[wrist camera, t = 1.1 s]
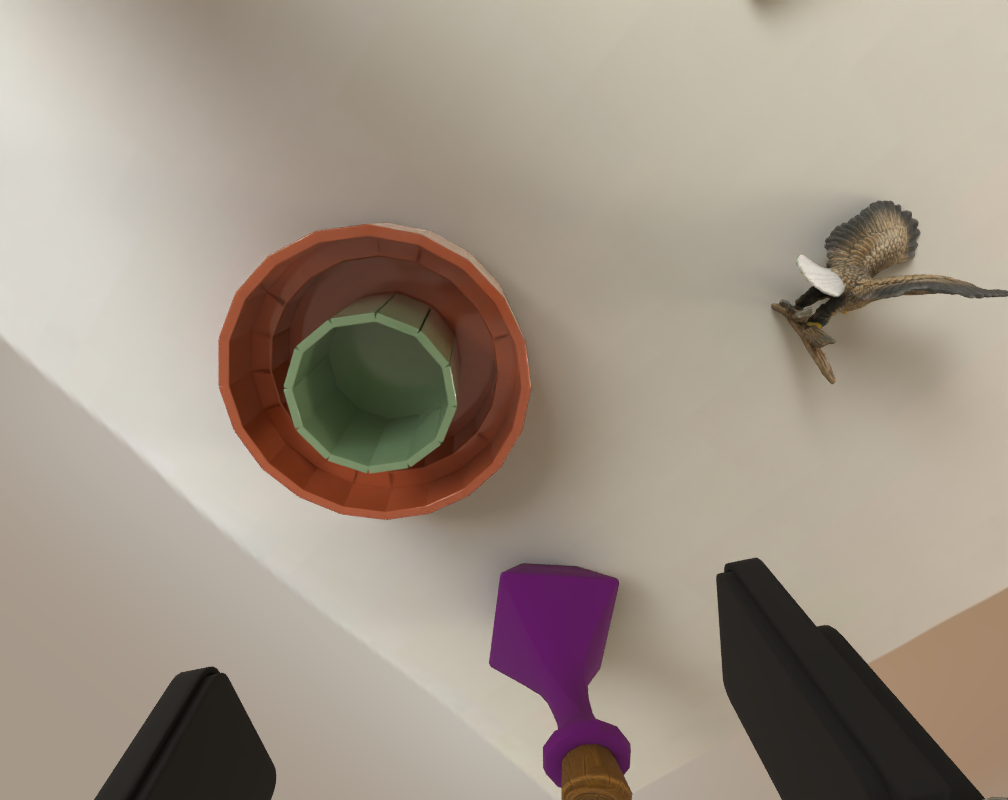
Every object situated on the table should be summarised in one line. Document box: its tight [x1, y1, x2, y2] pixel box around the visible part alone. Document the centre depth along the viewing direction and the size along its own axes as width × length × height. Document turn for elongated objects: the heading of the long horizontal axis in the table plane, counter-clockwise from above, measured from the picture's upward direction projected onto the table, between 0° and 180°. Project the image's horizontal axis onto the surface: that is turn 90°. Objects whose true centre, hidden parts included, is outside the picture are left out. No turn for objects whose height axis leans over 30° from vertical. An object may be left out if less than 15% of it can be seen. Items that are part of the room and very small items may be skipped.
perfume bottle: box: [489, 563, 632, 800], centre depth 27 cm, size 8×8×18 cm
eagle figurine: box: [771, 201, 1008, 384], centre depth 26 cm, size 8×7×9 cm
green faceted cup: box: [284, 292, 461, 473], centre depth 26 cm, size 8×8×6 cm
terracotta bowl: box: [219, 223, 531, 520], centre depth 27 cm, size 15×15×6 cm
